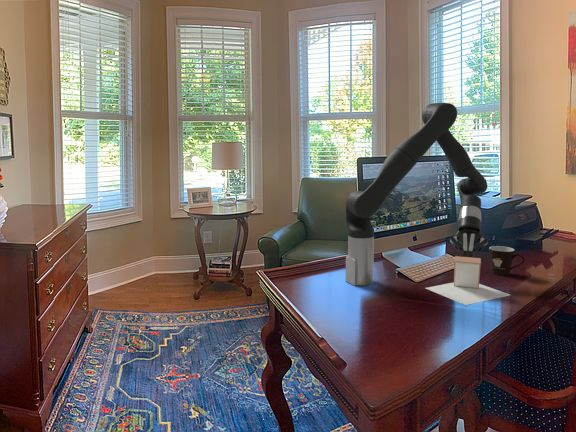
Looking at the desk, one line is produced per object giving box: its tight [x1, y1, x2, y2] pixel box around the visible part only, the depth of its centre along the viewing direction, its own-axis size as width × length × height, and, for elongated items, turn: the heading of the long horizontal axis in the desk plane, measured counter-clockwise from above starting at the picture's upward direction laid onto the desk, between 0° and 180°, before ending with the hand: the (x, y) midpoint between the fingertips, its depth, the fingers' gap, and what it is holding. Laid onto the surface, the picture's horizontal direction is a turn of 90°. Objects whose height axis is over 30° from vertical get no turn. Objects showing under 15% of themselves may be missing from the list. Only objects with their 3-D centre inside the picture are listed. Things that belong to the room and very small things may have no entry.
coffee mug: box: [488, 245, 525, 277], centre depth 163 cm, size 12×9×10 cm
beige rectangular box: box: [453, 255, 482, 289], centre depth 147 cm, size 3×8×12 cm
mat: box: [425, 282, 511, 307], centre depth 146 cm, size 20×18×1 cm
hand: (467, 262), depth 148 cm, fingers closed
